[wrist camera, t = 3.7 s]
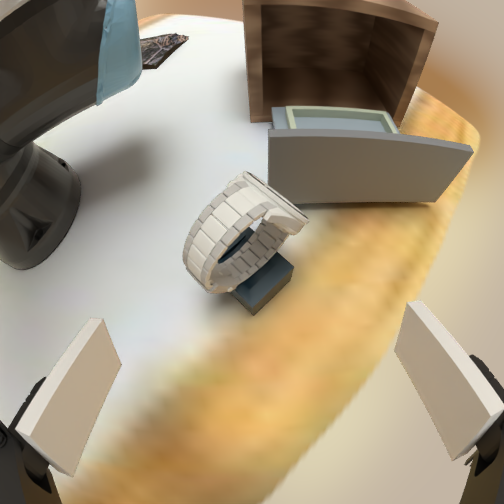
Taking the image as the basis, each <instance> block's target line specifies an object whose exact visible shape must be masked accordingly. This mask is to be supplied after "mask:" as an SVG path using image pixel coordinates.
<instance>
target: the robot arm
mask: <svg viewBox="0 0 504 504" xmlns="http://www.w3.org/2000/svg"><path fill="white" fill-rule="evenodd" d="M141 72H142V54H141V45H140V37H139V28H138V20H137V12H136V5H135V0H0V259H1V260H2V261H3V262H5V263H6V264H8V265H10V266H11V267H13V268H15V269H19V270H24V269H28V268H31V267H34V266H35V265H37V264H39V263H40V262H42V261H43V260H44V259H45V258H47V257H48V256H49V255H50V254H51V253H52V252H53V250H54V249H55V248H56V247H57V246H58V244H59V243H60V242H61V240H62V239H63V237H64V236H65V234H66V233H67V231H68V229H69V227H70V225H71V223H72V221H73V219H74V217H75V214H76V211H77V208H78V205H79V200H80V192H81V187H80V181H79V178H78V176H77V174H76V173H75V172H74V170H73V169H72V168H71V167H70V165H69V164H68V163H67V162H66V161H64V160H63V159H61V158H58V157H57V156H55V155H54V154H52V153H50V152H48V151H47V150H45V149H43V148H41V147H40V146H38V145H36V144H35V143H34V142H33V141H34V140H35V139H37V138H38V137H40V136H41V135H43V134H44V133H46V132H47V131H49V130H51V129H52V128H54V127H56V126H57V125H59V124H61V123H62V122H64V121H66V120H67V119H69V118H71V117H73V116H75V115H76V114H78V113H80V112H82V111H84V110H86V109H88V108H90V107H92V106H94V105H96V106H98V105H100V104H102V102H103V101H104V100H105V99H107V98H109V97H111V96H113V95H115V94H117V93H119V92H121V91H123V90H126V89H128V88H129V87H131V86H132V85H134V84H135V83H136V82H137V80H138V79H139V77H140V75H141ZM394 351H395V353H396V355H397V357H398V358H399V360H400V362H401V363H402V365H403V367H404V369H405V370H406V372H407V374H408V376H409V378H410V379H411V381H412V383H413V385H414V386H415V388H416V390H417V392H418V394H419V396H420V398H421V399H422V401H423V403H424V405H425V407H426V409H427V411H428V413H429V415H430V417H431V419H432V421H433V422H434V425H435V426H436V429H437V431H438V432H439V434H440V436H441V439H442V441H443V443H444V445H445V447H446V449H447V451H448V453H449V456H450V458H451V460H452V461H453V460H455V459H457V458H459V457H461V456H463V455H465V454H467V453H468V452H469V451H470V450H471V449H472V448H473V447H474V446H475V445H476V446H477V450H476V452H475V453H474V454H473V455H472V456H471V457H470V458H468V459H467V460H466V462H465V465H467V464H468V463H470V462H471V461H472V460H473V461H472V463H471V465H470V466H471V469H470V473H469V476H468V479H467V483H466V486H465V489H464V492H463V495H462V498H461V501H460V504H504V389H503V387H502V386H501V385H500V383H499V382H498V381H497V380H496V379H495V378H494V375H493V374H492V373H491V372H489V369H488V368H487V366H486V365H485V364H484V363H483V361H482V360H480V359H479V358H477V357H476V356H474V355H470V356H468V355H467V353H466V352H465V351H464V350H463V348H462V347H461V346H460V345H459V344H458V342H457V341H456V340H455V339H454V338H453V336H452V335H451V334H450V333H449V332H448V331H447V329H446V328H445V327H444V326H443V325H442V323H441V322H440V321H439V320H438V319H437V318H436V317H435V315H434V314H433V313H432V312H431V311H430V310H429V309H428V308H427V307H426V305H424V303H423V302H422V301H421V300H419V301H412V302H407V304H406V308H405V312H404V317H403V320H402V324H401V328H400V332H399V335H398V339H397V343H396V346H395V349H394ZM121 365H122V364H121V362H120V360H119V357H118V355H117V353H116V350H115V348H114V345H113V343H112V340H111V338H110V335H109V333H108V330H107V328H106V325H105V322H104V319H98V318H90V319H89V320H88V321H87V322H86V324H85V325H84V326H83V328H82V329H81V330H80V332H79V333H78V334H77V336H76V337H75V338H74V340H73V341H72V342H71V344H70V345H69V346H68V348H67V349H66V351H65V352H64V353H63V355H62V356H61V358H60V359H59V361H58V362H57V363H56V365H55V366H54V368H53V369H52V371H51V372H50V374H49V375H48V377H44V378H42V379H41V380H40V381H39V382H38V383H36V385H35V386H34V388H33V389H32V391H31V392H30V395H28V397H27V398H26V402H24V403H23V405H22V406H21V408H20V409H19V411H18V413H17V414H16V416H15V418H14V419H13V421H12V423H11V424H10V426H9V427H8V428H7V427H6V426H5V425H4V424H3V423H2V422H1V420H0V504H62V502H61V500H60V497H59V494H58V492H57V489H56V486H55V483H54V480H53V477H52V474H51V472H50V470H49V469H48V466H49V464H50V465H52V466H53V467H54V468H55V469H56V470H57V471H59V472H61V473H64V474H66V475H69V476H71V477H73V476H74V473H75V471H76V468H77V465H78V463H79V460H80V458H81V455H82V453H83V450H84V448H85V445H86V443H87V440H88V438H89V436H90V433H91V431H92V428H93V426H94V424H95V421H96V419H97V417H98V415H99V412H100V410H101V408H102V406H103V403H104V401H105V399H106V397H107V395H108V393H109V390H110V388H111V386H112V384H113V382H114V380H115V378H116V376H117V374H118V371H119V369H120V367H121Z"/></svg>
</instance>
